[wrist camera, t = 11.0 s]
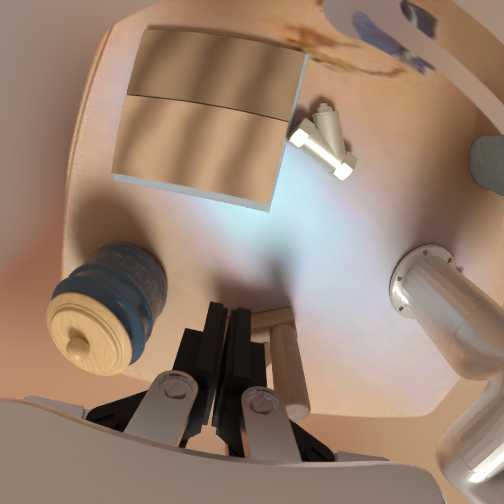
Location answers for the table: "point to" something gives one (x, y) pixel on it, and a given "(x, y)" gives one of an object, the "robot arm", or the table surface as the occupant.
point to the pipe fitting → (324, 142)
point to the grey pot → (488, 162)
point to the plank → (199, 146)
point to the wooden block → (282, 358)
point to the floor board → (217, 72)
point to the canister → (108, 308)
